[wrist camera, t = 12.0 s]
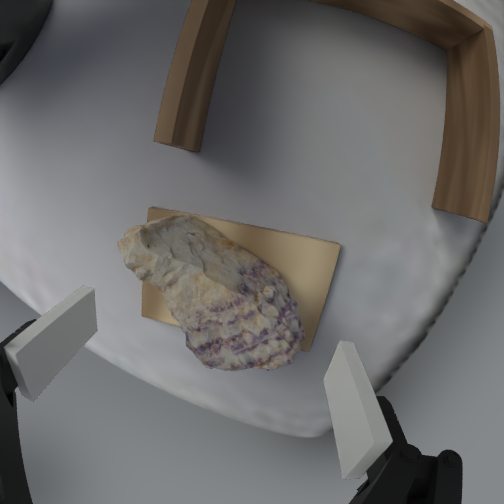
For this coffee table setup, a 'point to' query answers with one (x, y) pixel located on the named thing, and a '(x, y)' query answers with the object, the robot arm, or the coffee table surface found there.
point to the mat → (276, 256)
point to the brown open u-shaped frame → (397, 14)
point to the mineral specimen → (216, 293)
